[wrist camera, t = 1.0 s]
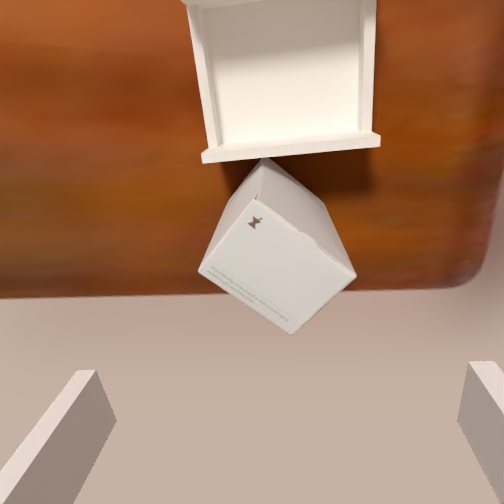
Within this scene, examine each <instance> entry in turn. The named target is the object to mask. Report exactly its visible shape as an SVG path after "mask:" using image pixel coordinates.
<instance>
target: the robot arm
mask: <svg viewBox="0 0 504 504" xmlns="http://www.w3.org/2000/svg"><path fill="white" fill-rule="evenodd" d="M116 421H117V420H116V418H115V415H114V413H113V410H112V408H111V406H110V403H109V401H108V398H107V396H106V393H105V391H104V389H103V386H102V384H101V381H100V379H99V376H98V374H97V372H96V370H77V372H76V373H75V374H74V376H73V377H72V378H71V379H70V381H69V382H68V383H67V385H66V386H65V387H64V389H63V390H62V391H61V393H60V394H59V395H58V397H57V398H56V399H55V400H54V402H53V403H52V404H51V406H50V407H49V408H48V410H47V411H46V412H45V414H44V415H43V416H42V418H41V419H40V420H39V421H38V423H37V424H36V426H35V427H34V428H33V429H32V431H31V432H30V433H29V435H28V436H27V437H26V439H25V440H24V441H23V442H22V444H21V445H20V447H19V448H18V449H17V451H16V452H15V453H14V454H13V456H12V457H11V458H10V460H9V461H8V462H7V464H6V465H5V466H4V468H3V469H2V470H1V472H0V504H73V503H74V501H75V499H76V497H77V495H78V493H79V492H80V490H81V488H82V486H83V484H84V482H85V480H86V478H87V476H88V474H89V472H90V471H91V469H92V467H93V465H94V463H95V461H96V459H97V457H98V455H99V453H100V451H101V450H102V448H103V446H104V444H105V442H106V440H107V438H108V436H109V434H110V432H111V430H112V429H113V427H114V424H115V423H116ZM457 421H458V423H459V425H460V426H461V428H462V430H463V433H464V435H465V436H466V438H467V440H468V442H469V444H470V446H471V448H472V450H473V452H474V454H475V456H476V458H477V460H478V461H479V463H480V465H481V467H482V469H483V471H484V473H485V475H486V477H487V479H488V481H489V483H490V485H491V487H492V489H493V490H494V492H495V494H496V496H497V498H498V500H499V502H500V504H504V373H503V372H502V371H501V370H500V368H499V367H498V366H497V364H496V363H495V362H494V361H474V362H473V361H472V362H468V366H467V371H466V377H465V382H464V388H463V393H462V398H461V404H460V409H459V415H458V419H457Z"/></svg>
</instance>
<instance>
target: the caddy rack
mask: <svg viewBox="0 0 504 504" xmlns="http://www.w3.org/2000/svg"><path fill="white" fill-rule="evenodd" d="M181 1H182V2H183V3H184V4H185V5H186V6H187V12H188V18H189V25H190V31H191V37H192V44H193V50H194V57H195V63H196V69H197V76H198V82H199V89H200V95H201V101H202V108H203V114H204V121H205V127H206V133H207V140H208V146H209V148H208V149H207V150H205V151H204V152H202V153H201V156H202V162H203V163H212V162H223V161H233V160H244V159H254V158H265V157H275V156H286V155H296V154H307V153H317V152H328V151H338V150H349V149H359V148H370V147H380V135H378V134H376V133H374V132H372V105H373V79H374V52H375V26H376V0H181Z"/></svg>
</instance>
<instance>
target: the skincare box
mask: <svg viewBox="0 0 504 504" xmlns="http://www.w3.org/2000/svg"><path fill="white" fill-rule="evenodd" d="M198 272H199V273H200V274H202V275H203V276H205V277H206V278H208V279H209V280H211V281H212V282H214V283H215V284H217V285H218V286H219V287H221V288H222V289H224V290H225V291H227V292H228V293H230V294H231V295H233V296H234V297H235V298H237V299H238V300H240V301H241V302H243V303H244V304H246V305H247V306H249V307H250V308H252V309H253V310H254V311H256V312H257V313H259V314H260V315H262V316H263V317H264V318H266V319H268V320H269V321H270V322H272V323H273V324H275V325H276V326H278V327H279V328H281V329H282V330H284V331H285V332H287V333H288V334H290V335H293V334H294V333H295V332H296V331H297V330H298V329H299V328H300V327H302V326H303V325H304V324H305V323H306V322H307V321H308V320H309V319H310V318H312V317H313V315H315V314H316V313H317V312H318V311H319V310H321V309H322V308H323V307H324V306H325V305H326V304H327V303H328V302H329V301H330V300H332V299H333V298H334V297H335V296H336V295H337V294H338V293H339V292H340V291H342V290H343V289H344V288H345V287H346V286H347V285H348V284H349V283H350V282H351V281H353V280H354V279H355V278H356V276H357V275H356V273H355V271H354V269H353V266H352V264H351V262H350V260H349V258H348V255H347V253H346V251H345V249H344V247H343V244H342V242H341V240H340V238H339V236H338V233H337V231H336V229H335V227H334V225H333V222H332V220H331V218H330V216H329V214H328V211H327V209H326V207H325V204H324V203H323V202H322V201H321V200H320V199H319V198H318V197H317V196H315V195H314V194H313V193H312V192H310V191H309V190H308V189H307V188H306V187H304V186H303V185H302V184H301V183H300V182H298V181H297V180H296V179H295V178H293V177H292V176H291V175H290V174H289V173H287V172H286V171H285V170H284V169H282V168H281V167H280V166H279V165H277V164H276V163H275V162H273V161H272V160H271V159H270V158H268V157H265V158H261V159H260V161H259V162H258V163H257V164H256V166H255V167H254V168H253V169H252V171H251V172H250V173H249V174H248V176H247V177H246V178H245V179H244V181H243V182H242V183H241V185H240V186H239V187H238V189H237V190H236V191H235V192H234V194H233V195H232V196H231V198H230V199H229V201H228V203H227V205H226V207H225V210H224V212H223V214H222V216H221V219H220V221H219V223H218V226H217V228H216V230H215V233H214V235H213V237H212V240H211V242H210V244H209V247H208V249H207V251H206V253H205V256H204V258H203V260H202V263H201V265H200V267H199V270H198Z"/></svg>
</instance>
